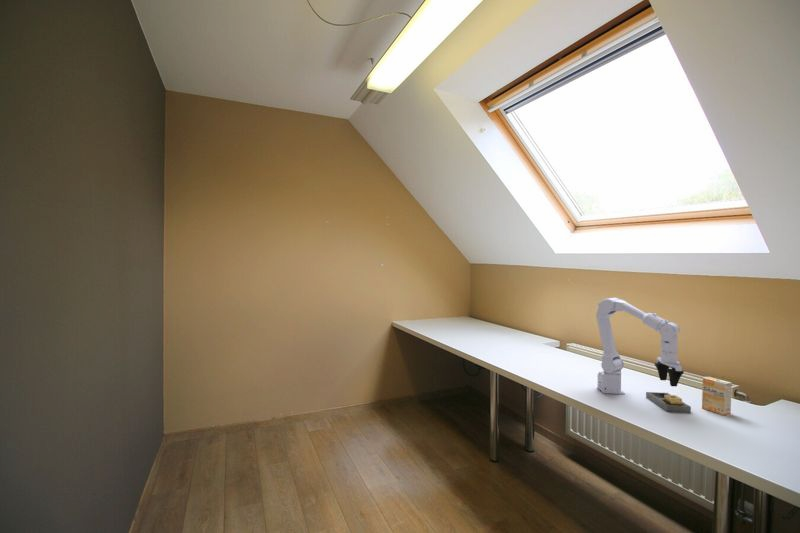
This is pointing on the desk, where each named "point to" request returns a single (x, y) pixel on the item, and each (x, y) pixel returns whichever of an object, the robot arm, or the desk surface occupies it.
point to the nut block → (672, 400)
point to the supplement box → (716, 395)
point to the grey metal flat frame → (659, 400)
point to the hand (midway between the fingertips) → (668, 383)
